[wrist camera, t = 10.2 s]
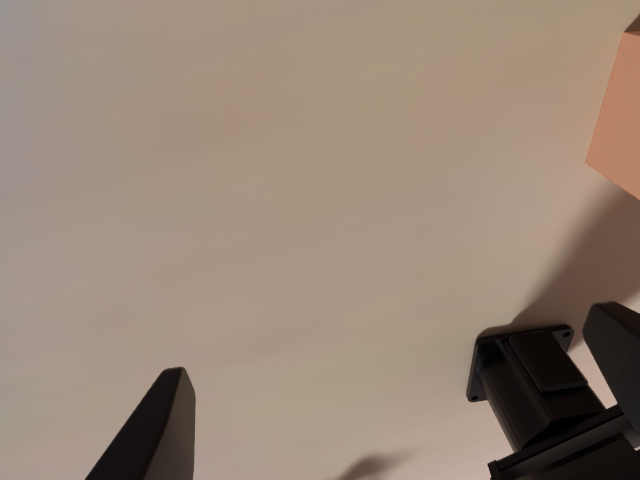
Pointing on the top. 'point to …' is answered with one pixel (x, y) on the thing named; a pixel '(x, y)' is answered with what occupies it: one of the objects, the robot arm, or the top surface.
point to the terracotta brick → (620, 120)
